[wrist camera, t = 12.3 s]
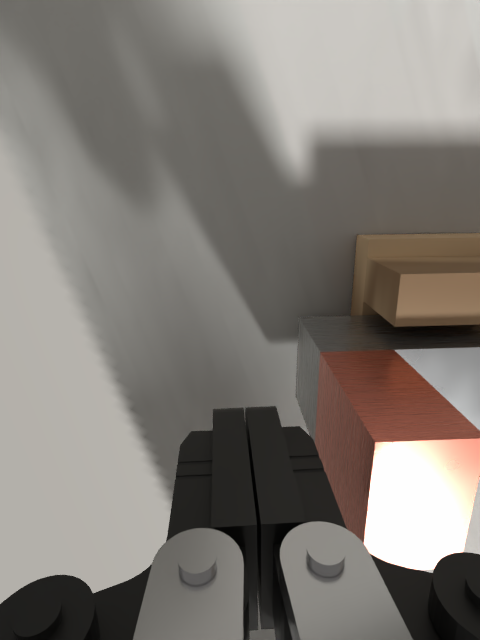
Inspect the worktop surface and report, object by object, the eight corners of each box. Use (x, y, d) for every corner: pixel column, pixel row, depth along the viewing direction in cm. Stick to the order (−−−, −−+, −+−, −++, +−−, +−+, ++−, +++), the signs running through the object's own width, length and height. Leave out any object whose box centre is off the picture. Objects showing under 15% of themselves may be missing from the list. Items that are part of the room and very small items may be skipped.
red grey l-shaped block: (471, 390, 15) (675, 555, 8) (295, 396, 15) (360, 572, 8) (486, 312, 14) (730, 428, 7) (298, 317, 14) (375, 442, 7)
